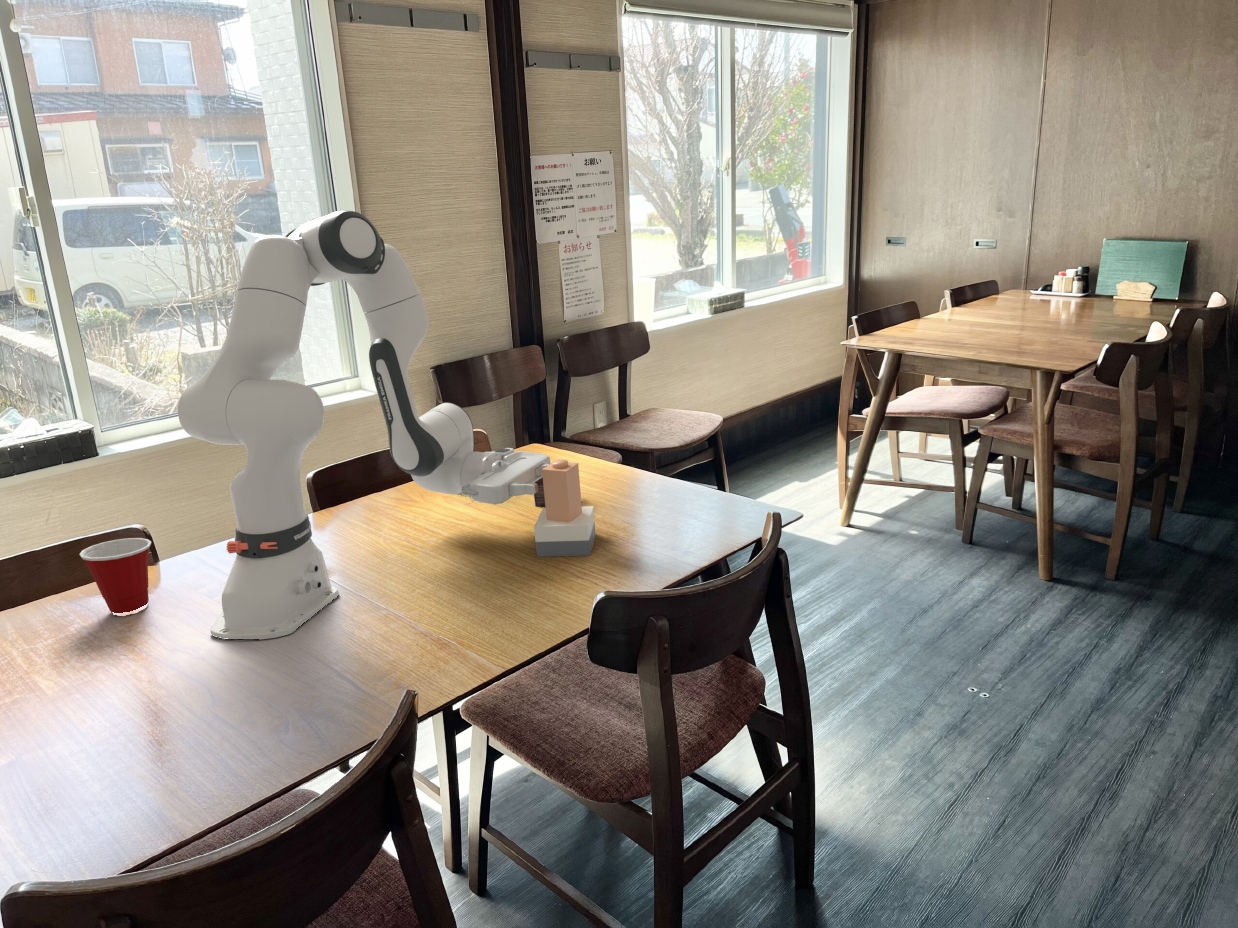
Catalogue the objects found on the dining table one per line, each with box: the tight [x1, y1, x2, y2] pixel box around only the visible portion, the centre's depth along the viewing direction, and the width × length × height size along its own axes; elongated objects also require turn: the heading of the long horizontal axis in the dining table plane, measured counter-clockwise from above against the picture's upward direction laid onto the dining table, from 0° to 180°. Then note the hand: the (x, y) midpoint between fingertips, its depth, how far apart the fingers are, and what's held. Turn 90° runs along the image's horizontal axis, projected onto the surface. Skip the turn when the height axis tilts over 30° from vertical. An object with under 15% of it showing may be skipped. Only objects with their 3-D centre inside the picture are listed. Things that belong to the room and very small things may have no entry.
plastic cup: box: [79, 537, 152, 613], centre depth 154 cm, size 11×11×12 cm
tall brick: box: [542, 459, 582, 522], centre depth 168 cm, size 5×5×11 cm
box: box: [533, 477, 545, 507], centre depth 195 cm, size 6×6×7 cm
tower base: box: [533, 505, 597, 558], centre depth 170 cm, size 10×10×6 cm
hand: (548, 481), depth 168 cm, fingers open, 8 cm apart
